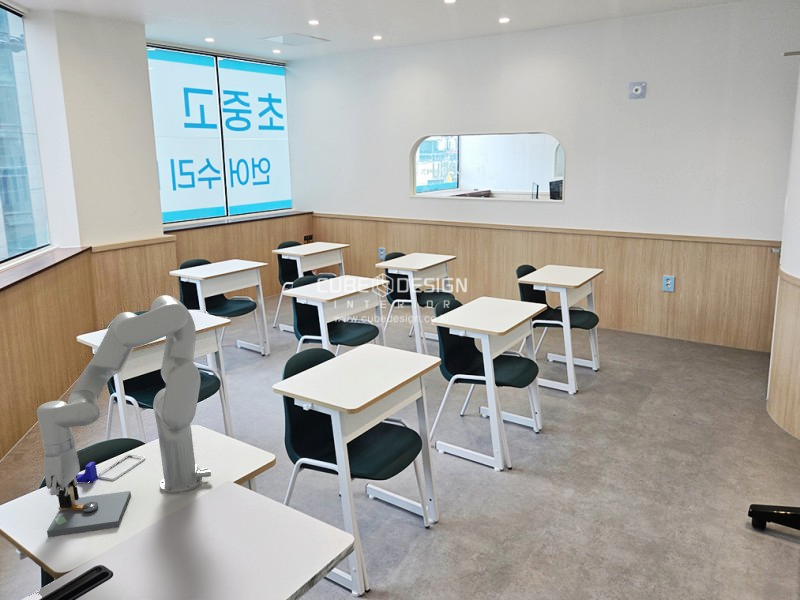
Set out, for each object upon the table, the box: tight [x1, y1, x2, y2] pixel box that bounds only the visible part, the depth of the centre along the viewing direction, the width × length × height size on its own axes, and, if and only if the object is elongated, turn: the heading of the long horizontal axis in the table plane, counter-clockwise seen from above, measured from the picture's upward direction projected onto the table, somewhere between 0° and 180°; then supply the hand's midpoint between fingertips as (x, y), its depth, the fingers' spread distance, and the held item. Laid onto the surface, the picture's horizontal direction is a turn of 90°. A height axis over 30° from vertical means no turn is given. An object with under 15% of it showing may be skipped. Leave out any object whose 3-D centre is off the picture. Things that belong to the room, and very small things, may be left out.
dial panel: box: [46, 490, 132, 538], centre depth 172 cm, size 18×16×2 cm
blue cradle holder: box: [77, 461, 99, 484], centre depth 191 cm, size 12×4×6 cm, turn 86°
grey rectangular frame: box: [97, 453, 146, 482], centre depth 199 cm, size 7×1×15 cm
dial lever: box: [58, 485, 98, 513], centre depth 171 cm, size 11×4×7 cm, turn 87°
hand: (69, 503), depth 171 cm, fingers closed on dial lever, 3 cm apart
